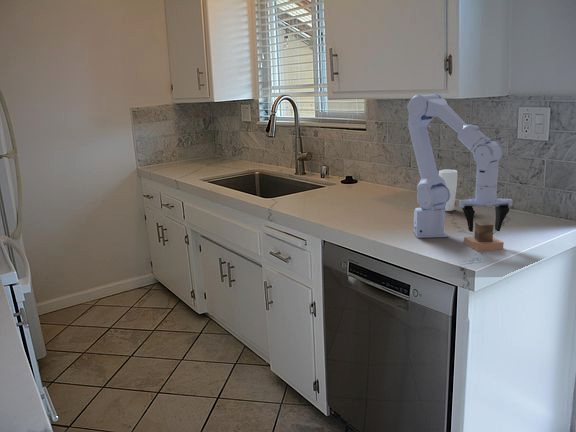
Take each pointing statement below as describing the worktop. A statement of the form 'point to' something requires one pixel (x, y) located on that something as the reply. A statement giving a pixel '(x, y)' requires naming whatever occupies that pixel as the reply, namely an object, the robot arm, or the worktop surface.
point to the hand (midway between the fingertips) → (483, 230)
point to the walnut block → (484, 231)
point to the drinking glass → (450, 186)
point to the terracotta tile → (483, 244)
